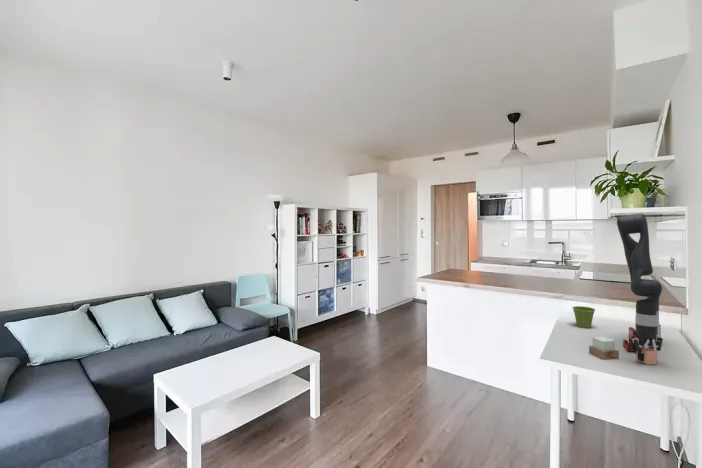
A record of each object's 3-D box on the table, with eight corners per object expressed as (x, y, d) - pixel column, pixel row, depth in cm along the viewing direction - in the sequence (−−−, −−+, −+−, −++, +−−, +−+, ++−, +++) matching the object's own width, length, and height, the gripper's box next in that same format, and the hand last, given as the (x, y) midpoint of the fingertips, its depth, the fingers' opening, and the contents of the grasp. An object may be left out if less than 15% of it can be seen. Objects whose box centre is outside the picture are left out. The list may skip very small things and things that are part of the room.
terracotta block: (646, 359, 153) (646, 346, 153) (657, 363, 148) (657, 350, 148) (636, 360, 152) (636, 347, 152) (647, 364, 147) (647, 351, 147)
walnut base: (604, 353, 163) (604, 344, 163) (618, 359, 155) (618, 350, 155) (589, 353, 162) (589, 345, 162) (603, 360, 154) (602, 351, 154)
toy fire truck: (628, 353, 161) (628, 332, 161) (621, 345, 172) (621, 325, 172) (647, 355, 158) (646, 334, 157) (638, 347, 169) (638, 327, 168)
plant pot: (567, 324, 209) (567, 306, 209) (584, 323, 211) (584, 305, 210) (582, 330, 198) (582, 311, 197) (600, 328, 199) (600, 310, 199)
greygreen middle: (603, 345, 162) (603, 336, 162) (614, 350, 156) (614, 340, 156) (592, 346, 161) (592, 337, 161) (603, 350, 155) (603, 341, 155)
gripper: (652, 320, 154) (652, 356, 154) (624, 321, 153) (624, 358, 153) (669, 324, 147) (669, 362, 147) (639, 326, 145) (640, 364, 146)
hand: (646, 360), depth 150 cm, fingers closed on terracotta block, 5 cm apart
